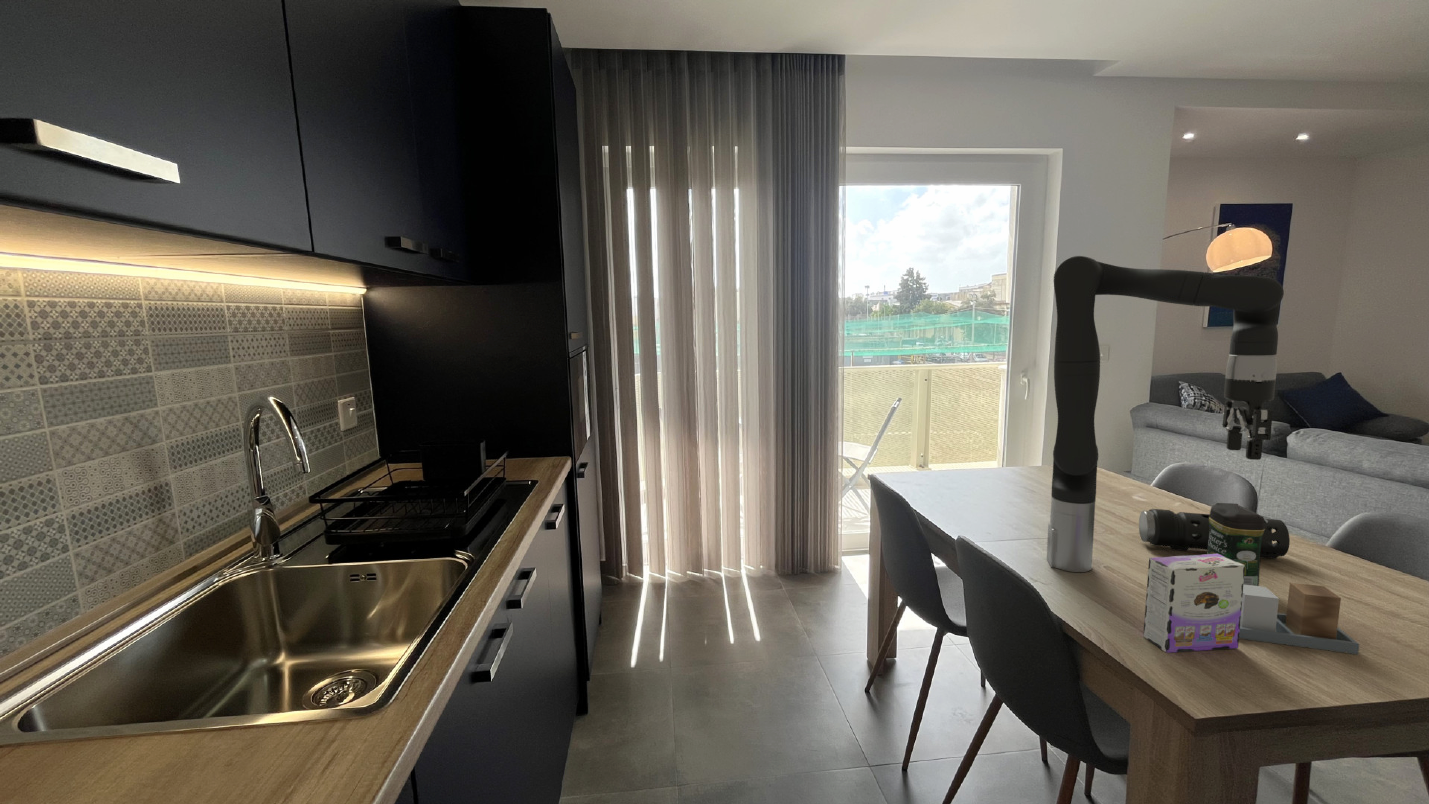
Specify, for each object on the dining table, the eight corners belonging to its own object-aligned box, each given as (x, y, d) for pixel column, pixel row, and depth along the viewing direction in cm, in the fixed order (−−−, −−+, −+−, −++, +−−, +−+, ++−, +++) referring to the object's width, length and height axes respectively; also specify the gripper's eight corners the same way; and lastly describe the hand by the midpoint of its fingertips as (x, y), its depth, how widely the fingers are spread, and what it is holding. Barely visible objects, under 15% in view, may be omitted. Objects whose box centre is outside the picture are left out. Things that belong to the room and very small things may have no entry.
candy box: (1210, 632, 111) (1218, 552, 109) (1239, 649, 105) (1247, 565, 103) (1141, 636, 110) (1147, 555, 108) (1166, 653, 105) (1173, 568, 102)
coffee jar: (1197, 575, 135) (1203, 499, 132) (1237, 577, 133) (1244, 500, 130) (1222, 594, 125) (1229, 513, 123) (1265, 597, 124) (1274, 514, 121)
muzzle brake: (1288, 567, 138) (1292, 526, 136) (1146, 552, 148) (1149, 514, 147) (1268, 552, 146) (1272, 513, 145) (1136, 539, 157) (1139, 503, 156)
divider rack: (1232, 637, 109) (1236, 598, 108) (1211, 614, 117) (1215, 577, 116) (1358, 654, 102) (1363, 612, 101) (1326, 628, 111) (1331, 589, 110)
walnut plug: (1299, 639, 107) (1304, 594, 106) (1285, 626, 111) (1289, 582, 110) (1335, 644, 105) (1341, 598, 104) (1318, 630, 110) (1324, 586, 108)
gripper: (1212, 373, 124) (1206, 446, 126) (1243, 380, 111) (1236, 461, 113) (1256, 373, 121) (1249, 448, 124) (1293, 380, 108) (1285, 463, 111)
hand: (1243, 454), depth 119 cm, fingers open, 8 cm apart
